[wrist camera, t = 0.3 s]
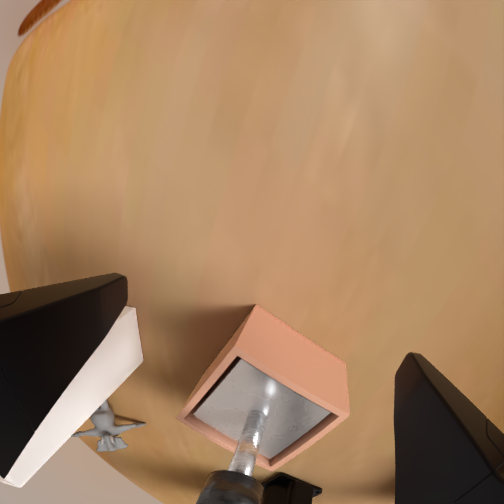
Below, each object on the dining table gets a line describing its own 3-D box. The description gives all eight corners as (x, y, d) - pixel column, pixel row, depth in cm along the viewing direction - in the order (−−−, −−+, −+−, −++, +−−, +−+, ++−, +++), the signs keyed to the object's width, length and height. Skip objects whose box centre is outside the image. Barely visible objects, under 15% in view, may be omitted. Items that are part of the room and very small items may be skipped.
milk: (144, 360, 28) (-1, 515, 7) (99, 348, 29) (-44, 468, 8) (136, 305, 26) (-56, 454, 5) (88, 296, 27) (-86, 405, 6)
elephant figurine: (130, 375, 29) (154, 448, 27) (130, 370, 34) (150, 434, 32) (48, 387, 25) (73, 461, 23) (59, 381, 30) (80, 445, 28)
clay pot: (282, 421, 26) (271, 471, 20) (203, 373, 26) (175, 418, 20) (345, 363, 23) (349, 414, 17) (256, 304, 24) (234, 345, 17)
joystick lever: (271, 452, 21) (246, 547, 12) (196, 408, 21) (142, 500, 12) (330, 405, 18) (325, 521, 9) (244, 352, 19) (190, 464, 10)
